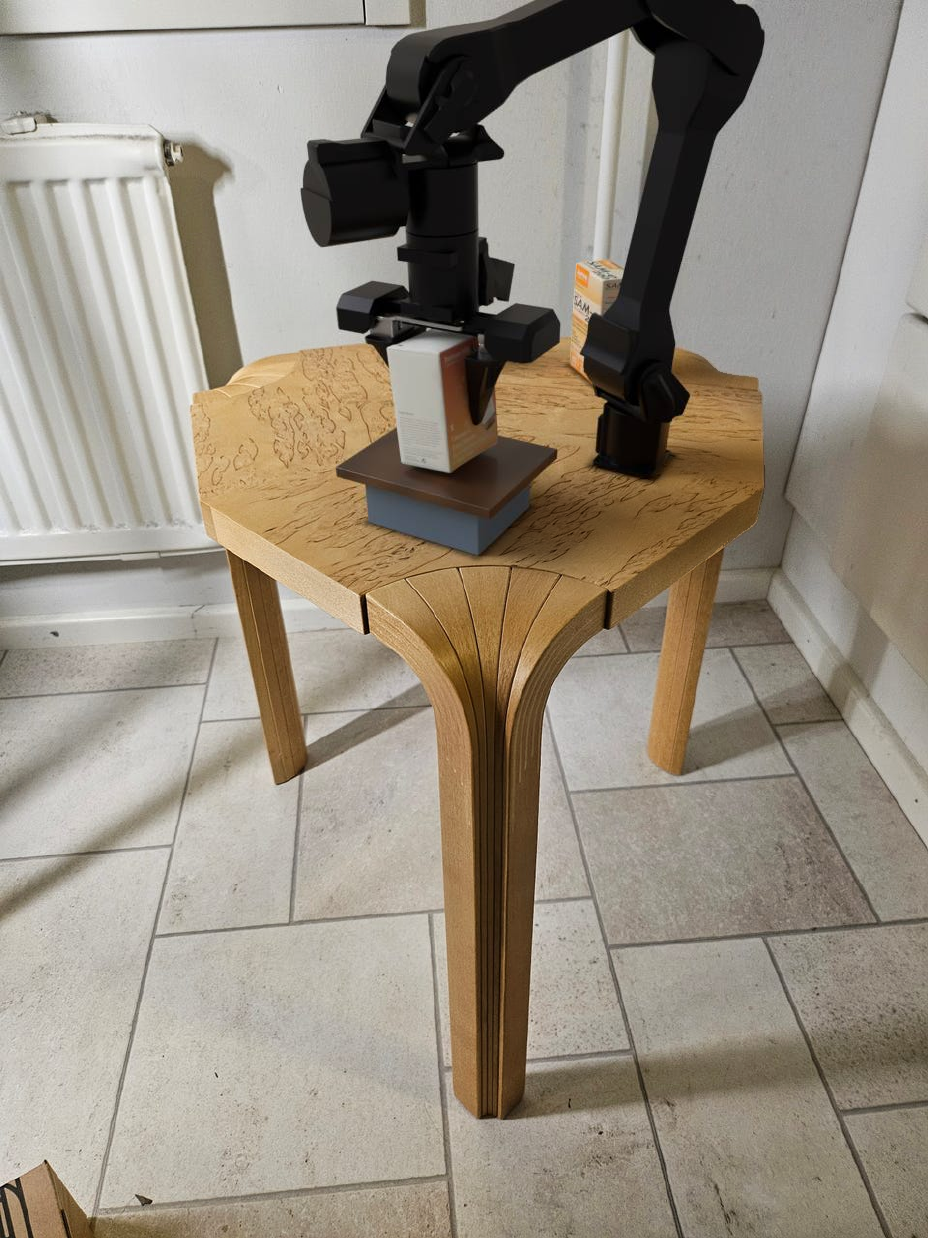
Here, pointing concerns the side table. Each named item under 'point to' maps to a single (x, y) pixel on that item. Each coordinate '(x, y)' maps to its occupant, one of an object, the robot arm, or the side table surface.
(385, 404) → the side table surface
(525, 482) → the wooden board
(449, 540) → the blue box
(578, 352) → the supplement box
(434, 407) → the small box
